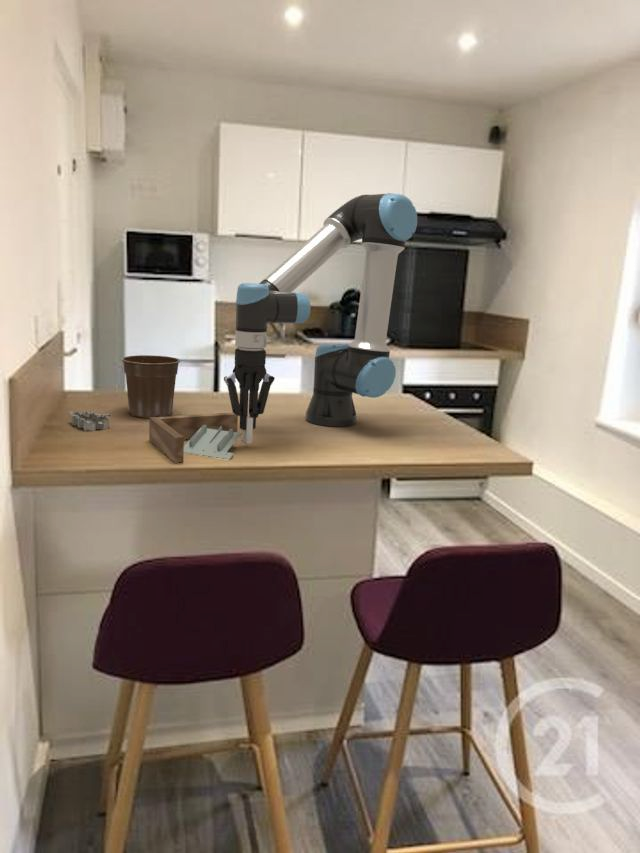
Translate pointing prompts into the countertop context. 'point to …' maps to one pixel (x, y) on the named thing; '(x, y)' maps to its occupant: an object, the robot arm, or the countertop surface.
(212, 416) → the wooden corner frame
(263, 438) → the countertop surface
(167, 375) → the plant pot
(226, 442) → the metal bracket
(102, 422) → the egg carton
